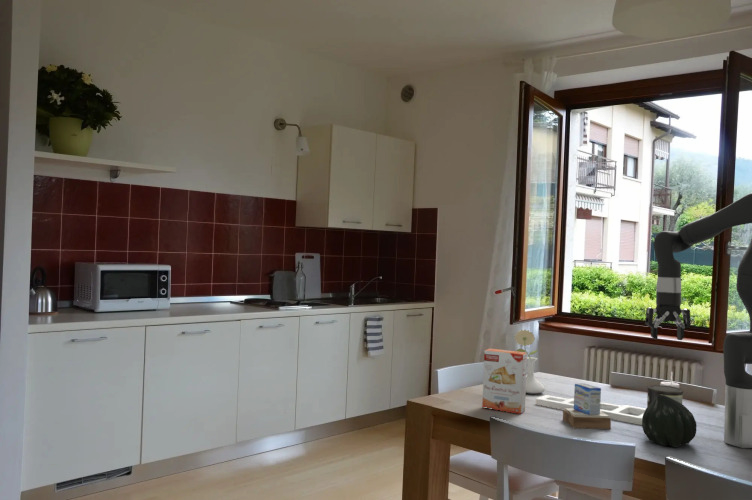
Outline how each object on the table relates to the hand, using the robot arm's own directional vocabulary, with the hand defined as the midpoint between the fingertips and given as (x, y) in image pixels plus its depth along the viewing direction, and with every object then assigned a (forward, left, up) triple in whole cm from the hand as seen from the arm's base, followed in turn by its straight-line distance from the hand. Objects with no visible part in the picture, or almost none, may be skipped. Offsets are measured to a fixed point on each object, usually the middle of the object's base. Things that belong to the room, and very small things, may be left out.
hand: (667, 339), depth 209 cm
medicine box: (-3, +28, -24) cm, 37 cm away
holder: (+15, +14, -29) cm, 35 cm away
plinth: (-3, +28, -28) cm, 40 cm away
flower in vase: (+45, +33, -28) cm, 63 cm away
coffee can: (-11, +6, -28) cm, 31 cm away
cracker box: (+14, +51, -28) cm, 60 cm away
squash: (-23, +11, -28) cm, 38 cm away
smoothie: (+20, -12, -28) cm, 37 cm away
